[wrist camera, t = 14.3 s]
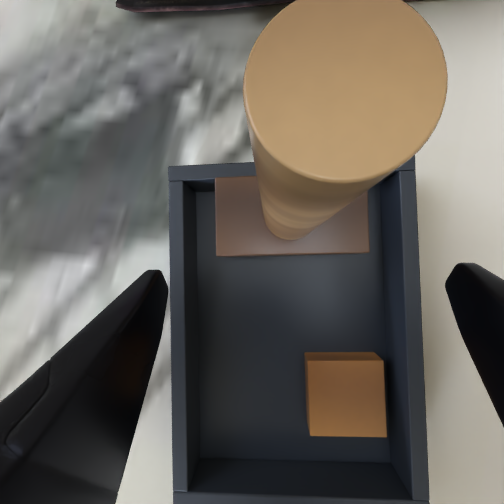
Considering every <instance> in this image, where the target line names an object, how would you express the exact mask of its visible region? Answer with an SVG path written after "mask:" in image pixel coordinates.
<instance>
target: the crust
mask: <svg viewBox="0 0 504 504" xmlns="http://www.w3.org/2000/svg"><path fill="white" fill-rule="evenodd" d="M304 355H305V383H306V412H307V424H308V429H309V433H310V436H336V437H387V426H386V403H385V381H384V361H383V360H382V359H381V358H380V357H379V356H378V355H377V354H376V353H375V352H305V353H304Z"/></svg>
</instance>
